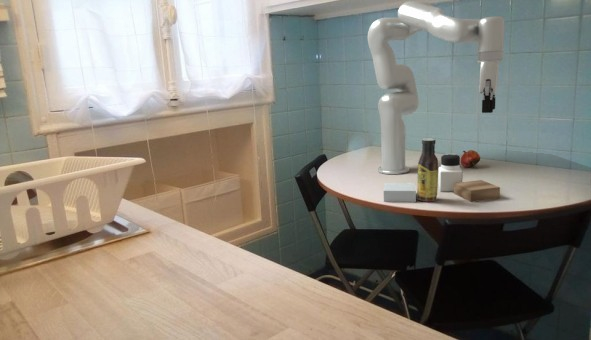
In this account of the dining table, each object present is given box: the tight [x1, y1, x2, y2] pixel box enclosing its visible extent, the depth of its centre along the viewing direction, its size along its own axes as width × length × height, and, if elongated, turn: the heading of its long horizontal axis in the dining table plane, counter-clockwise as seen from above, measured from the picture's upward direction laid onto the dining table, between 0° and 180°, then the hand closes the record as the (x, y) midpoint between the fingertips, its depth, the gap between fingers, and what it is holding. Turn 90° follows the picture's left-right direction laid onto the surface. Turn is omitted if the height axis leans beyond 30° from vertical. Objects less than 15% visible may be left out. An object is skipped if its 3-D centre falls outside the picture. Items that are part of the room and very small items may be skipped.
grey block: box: [383, 182, 417, 203], centre depth 156 cm, size 10×10×4 cm
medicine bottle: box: [438, 153, 463, 193], centre depth 162 cm, size 7×7×12 cm
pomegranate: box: [460, 149, 481, 170], centre depth 191 cm, size 7×7×10 cm
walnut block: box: [453, 179, 501, 203], centre depth 153 cm, size 10×10×4 cm
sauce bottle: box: [416, 137, 439, 203], centre depth 150 cm, size 7×6×20 cm
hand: (488, 110), depth 155 cm, fingers open, 9 cm apart
